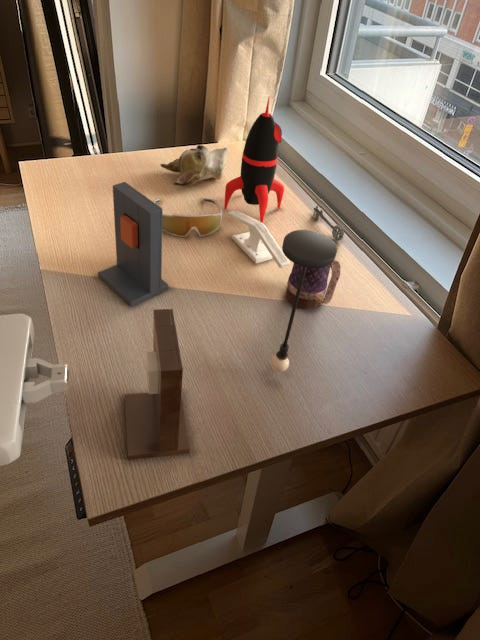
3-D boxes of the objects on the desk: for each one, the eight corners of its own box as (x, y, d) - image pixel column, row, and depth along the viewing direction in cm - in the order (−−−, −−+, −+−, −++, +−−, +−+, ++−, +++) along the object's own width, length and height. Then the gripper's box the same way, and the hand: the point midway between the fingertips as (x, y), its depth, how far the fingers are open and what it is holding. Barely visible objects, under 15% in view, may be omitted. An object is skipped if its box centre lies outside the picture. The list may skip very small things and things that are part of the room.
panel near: (128, 460, 67) (123, 373, 55) (124, 398, 74) (119, 311, 62) (189, 453, 69) (197, 368, 57) (180, 394, 76) (185, 308, 64)
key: (342, 244, 110) (346, 231, 108) (338, 245, 110) (342, 231, 107) (314, 214, 118) (317, 201, 115) (310, 215, 117) (314, 202, 115)
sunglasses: (158, 240, 103) (158, 216, 100) (149, 209, 115) (149, 188, 112) (227, 237, 106) (229, 215, 104) (212, 208, 118) (213, 187, 115)
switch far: (132, 248, 85) (131, 226, 83) (121, 239, 87) (119, 217, 84) (138, 246, 86) (137, 224, 83) (126, 237, 88) (126, 215, 85)
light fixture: (247, 381, 79) (273, 246, 62) (268, 355, 84) (297, 223, 67) (286, 401, 77) (324, 268, 60) (304, 374, 82) (345, 243, 65)
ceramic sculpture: (237, 151, 116) (173, 161, 111) (235, 186, 122) (174, 196, 117) (218, 131, 123) (158, 140, 118) (217, 165, 129) (160, 174, 124)
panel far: (131, 306, 88) (128, 221, 77) (98, 276, 93) (90, 192, 81) (168, 288, 93) (170, 205, 81) (135, 261, 97) (132, 178, 86)
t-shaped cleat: (270, 279, 98) (275, 256, 94) (219, 225, 110) (221, 202, 106) (288, 274, 100) (293, 251, 96) (235, 221, 112) (238, 199, 108)
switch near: (148, 394, 64) (148, 371, 61) (146, 375, 66) (146, 351, 63) (158, 393, 64) (158, 370, 61) (156, 374, 67) (156, 350, 64)
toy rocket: (261, 226, 111) (280, 110, 94) (221, 209, 114) (233, 93, 98) (282, 208, 118) (304, 96, 101) (244, 192, 121) (259, 81, 104)
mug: (278, 288, 96) (289, 234, 88) (310, 282, 99) (325, 229, 91) (304, 325, 90) (319, 270, 82) (338, 317, 92) (356, 263, 84)
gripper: (-37, 340, 68) (73, 334, 71) (-73, 481, 53) (67, 466, 57) (-50, 304, 64) (68, 300, 67) (-92, 447, 49) (60, 433, 52)
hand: (68, 377), depth 61 cm, fingers closed
